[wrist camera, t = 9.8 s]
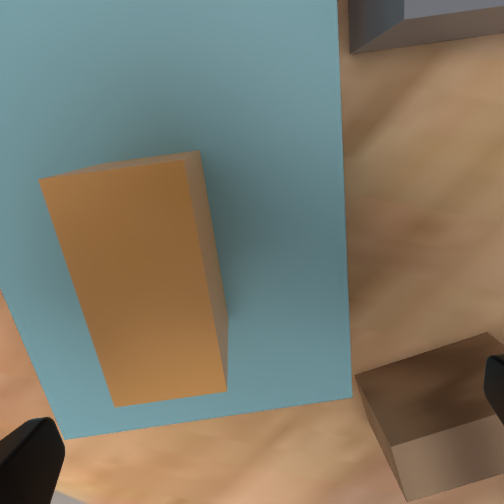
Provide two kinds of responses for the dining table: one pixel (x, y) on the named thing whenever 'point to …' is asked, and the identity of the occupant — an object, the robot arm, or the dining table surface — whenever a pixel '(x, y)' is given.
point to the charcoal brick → (420, 22)
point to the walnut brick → (436, 417)
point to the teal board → (216, 179)
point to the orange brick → (145, 274)
